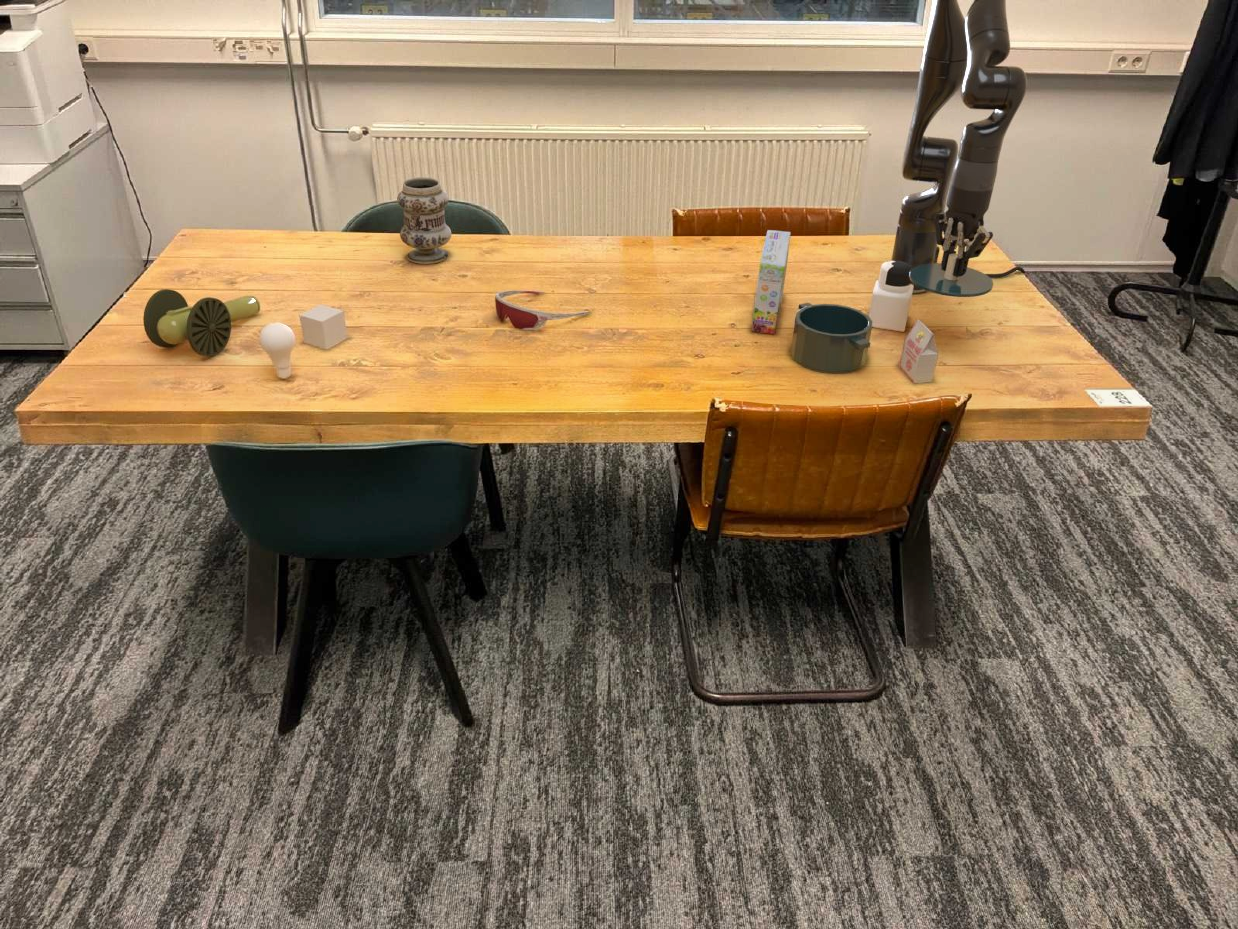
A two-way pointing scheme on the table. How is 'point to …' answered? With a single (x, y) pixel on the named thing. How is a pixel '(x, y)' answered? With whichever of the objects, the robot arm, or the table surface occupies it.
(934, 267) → the lid
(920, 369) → the white carton
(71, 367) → the table surface
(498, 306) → the sunglasses
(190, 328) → the cannon
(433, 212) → the apothecary jar
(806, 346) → the cooking pot
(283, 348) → the lightbulb
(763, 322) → the snack box
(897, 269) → the container
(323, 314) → the grey cube
